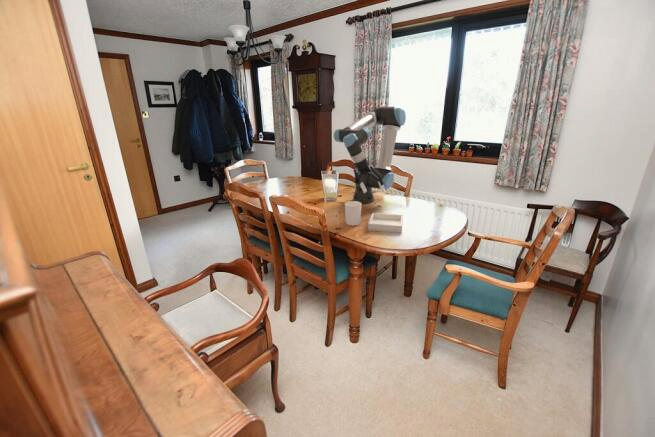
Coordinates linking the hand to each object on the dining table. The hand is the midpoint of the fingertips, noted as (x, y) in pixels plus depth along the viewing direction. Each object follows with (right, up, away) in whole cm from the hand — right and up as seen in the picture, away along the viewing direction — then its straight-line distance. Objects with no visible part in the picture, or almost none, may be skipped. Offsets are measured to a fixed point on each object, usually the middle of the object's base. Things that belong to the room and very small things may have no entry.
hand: (374, 191), depth 185 cm
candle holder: (-13, -19, -5) cm, 24 cm away
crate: (+5, -20, -10) cm, 23 cm away
